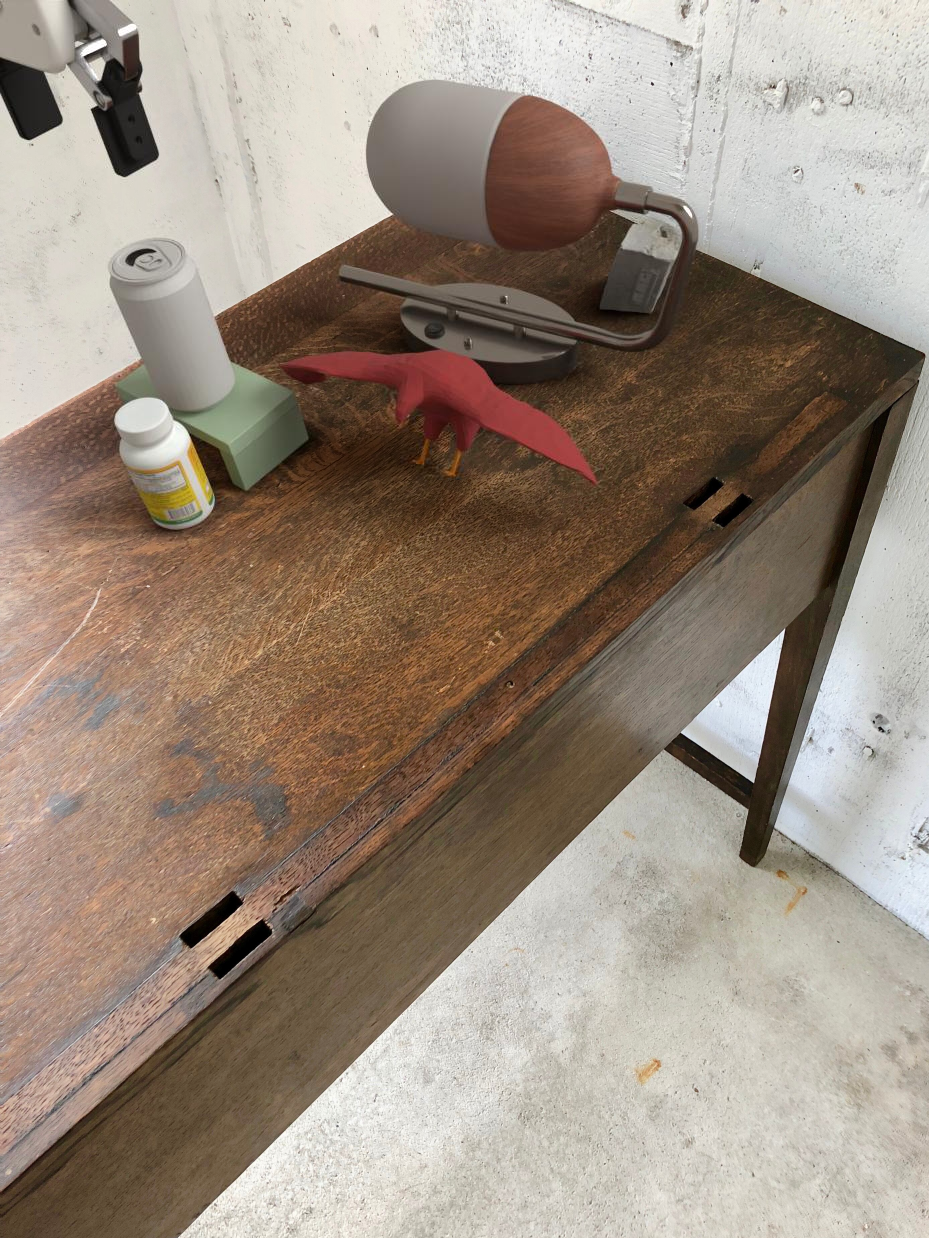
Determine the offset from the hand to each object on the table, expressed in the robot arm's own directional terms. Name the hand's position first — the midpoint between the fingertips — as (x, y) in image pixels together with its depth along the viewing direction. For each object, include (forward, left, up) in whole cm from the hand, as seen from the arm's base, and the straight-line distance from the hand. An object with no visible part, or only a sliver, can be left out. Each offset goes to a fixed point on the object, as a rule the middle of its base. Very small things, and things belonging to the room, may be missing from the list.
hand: (89, 148), depth 62 cm
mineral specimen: (+20, +37, -25) cm, 49 cm away
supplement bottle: (+3, -6, -25) cm, 26 cm away
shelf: (-1, +2, -25) cm, 25 cm away
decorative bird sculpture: (+18, +11, -25) cm, 33 cm away
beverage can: (0, +1, -20) cm, 20 cm away
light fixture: (+13, +25, -25) cm, 38 cm away
